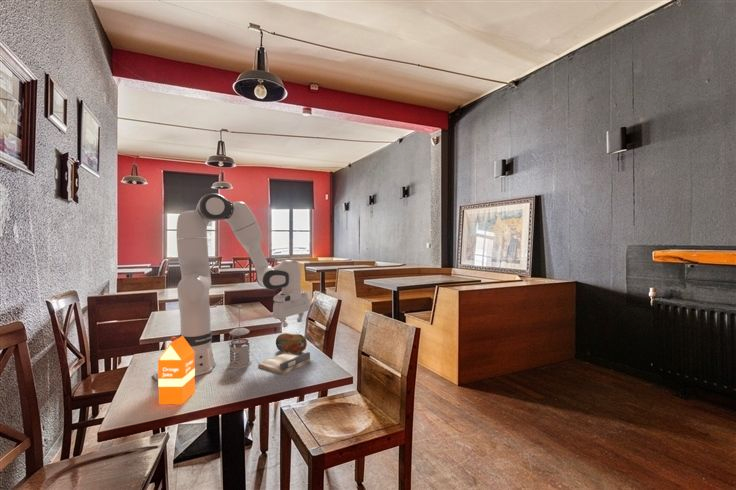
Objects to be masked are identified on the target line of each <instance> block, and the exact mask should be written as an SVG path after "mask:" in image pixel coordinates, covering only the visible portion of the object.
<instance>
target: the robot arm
mask: <svg viewBox="0 0 736 490" xmlns="http://www.w3.org/2000/svg"><path fill="white" fill-rule="evenodd" d="M222 220H223V221H225V222H226V223H227V224H228V225H229V227H230V229H231V230H232V233H233V234H234V236H235V238H236V240H237V241H238V242H239V244H240V245H241V246H242V248H243V249H244V250H245V251H246V253H247V254H248V256H249V258H250V261H251V263H252V265H253V267H254V269H255V279H256V282H257V284H258V285H259V286H260V287H262V288H265V289H267V290H269V291H276V290H279V289H281V291H280V292H279V293H277V294H276V295H275V294H274V296H273V299H272V301H274V302H273V305H272V317H273V318H274V319H276V320H280V321H281V325H282V328H287V327H289V326H288V322H286V319H287V318H289V317H292V316H295V315H298V317H297V318H296V321H297V323H301V322H303V318H304V313H305V312H308V311H309V310H310V301H309V297H308V293H307V292H306V291H302V286H301V285H302V284H301V281H302V273H301V272H302V270H301V265H300V263H299V262H298V261H296V260H291V259H283V260H281V262H280V263H278V264H277V265H274V266H271V264H269V262H268V260H267V258H266V256H265V254H264V251H263V249H262V243H261V242H262V239H263V232H262V229H261V226H260V224H259V222H258V220H257V218H256V216H255V215H254V213H253V211H252V210H251V208H250V207H249V206H248V204H247V203H246V202H243V201H239V200H238V201H233V202H232V201H230V199H229V200H228V199H227V198H226V197H225V196H223V195H221V194H219V193H215V192H213V193H207V194H205V195H203V196H202V197H201V198H200V199H199V200H198V203H197V204H196V206H195V207H194V209H193V210H186V211H183V212H181V213H180V214H179V215H178V217H177V221H176V245H177V247H176V248H177V249H176V250H177V261H178V264H179V268H180V269H179V270H180V275H181V279H180V280H179V282H178V283H177V302H178V309H179V314H180V315H179V317H180V320H179V321H180V334H179V336H177V337H176V336H171V338H170V341H171V342H173V341H175V340H176V339H178V338H180V337H181V336H183V337H184V338H185V340H186V341H187V342H188V344H189V345H190V347H191V348H192V349H193V351H194V366H195V377H197V376H200V375H201V376H202V375H205V374H208V373H210V372H212V371H213V368H215V366H216V362H215V358H214V354H213V347H212V342H213V332H212V329H211V327H212V326H211V307H210V306H211V305H210V290H211V286H212V277H211V267H210V259H209V245H208V232H207V230H208V224H209V223H211V222H217V221H222ZM152 377H153V378H154V379H155V380H156V381H158V370H156V371H153V373H152Z"/></svg>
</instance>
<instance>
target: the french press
mask: <svg viewBox="0 0 736 490" xmlns="http://www.w3.org/2000/svg"><path fill="white" fill-rule="evenodd" d="M242 308H243V307H242V305H240V304H239V305H237V306H236V309H238V327H236V328H233V329H232V330H230V331H229V332H228V334H229V336H228V340H230V338H231V336H232V338H231V341H230V342H228V346H229V347H228V348H229V362H228V364H227V368H230V369H231V370H232V369H237V370H238V369H244V368H247V367H249V366H251V365H252V364H253V362H252V360H250V343H249V339H247V338H241V336H245V335H248V334H249V333H250V331H251V330H250V329H247V328H245V327H241V325H240V324H241V320H240V319H241V317H240V316H241V315H240V311H241V310H240V309H242ZM235 337H238V338H236V339H234V338H235Z"/></svg>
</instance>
